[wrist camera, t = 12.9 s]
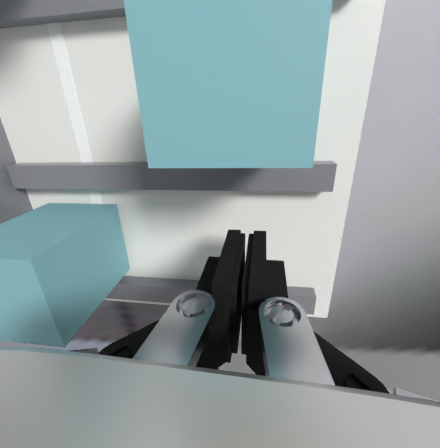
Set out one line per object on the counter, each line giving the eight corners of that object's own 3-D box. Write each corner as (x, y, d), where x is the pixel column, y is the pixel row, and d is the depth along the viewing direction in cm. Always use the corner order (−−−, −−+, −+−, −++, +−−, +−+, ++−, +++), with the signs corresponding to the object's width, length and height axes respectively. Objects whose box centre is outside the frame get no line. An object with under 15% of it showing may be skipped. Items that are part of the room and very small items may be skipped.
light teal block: (297, 26, 9) (341, -74, 4) (288, 141, 11) (312, 168, 6) (190, 34, 10) (116, -44, 5) (197, 143, 11) (148, 168, 6)
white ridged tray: (433, -409, 7) (670, -1120, 3) (319, 295, 17) (338, 353, 13) (-140, -236, 10) (-414, -472, 6) (49, 276, 20) (-5, 319, 16)
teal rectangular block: (116, 204, 13) (30, 260, 8) (130, 268, 15) (64, 347, 10) (49, 202, 14) (-70, 254, 9) (69, 264, 15) (-22, 337, 10)
